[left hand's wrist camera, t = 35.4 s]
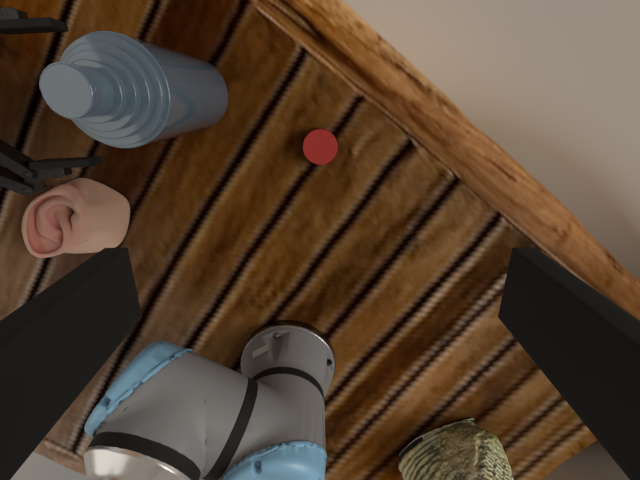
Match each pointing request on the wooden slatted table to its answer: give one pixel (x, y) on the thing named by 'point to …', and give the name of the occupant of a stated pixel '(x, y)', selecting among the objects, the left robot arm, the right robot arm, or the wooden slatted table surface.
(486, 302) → the wooden slatted table surface
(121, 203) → the anatomical model
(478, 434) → the fossil
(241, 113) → the wooden slatted table surface
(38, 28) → the right robot arm
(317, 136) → the cap
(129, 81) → the bottle
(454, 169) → the wooden slatted table surface
